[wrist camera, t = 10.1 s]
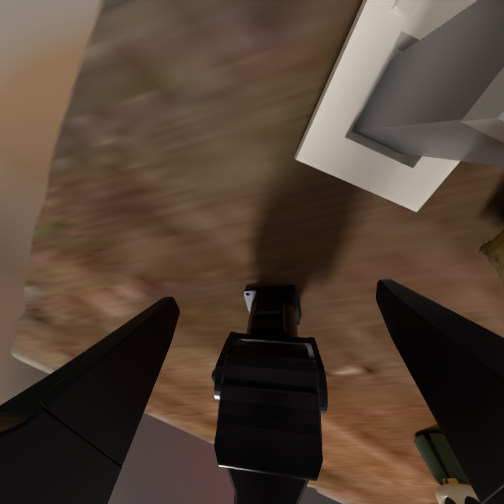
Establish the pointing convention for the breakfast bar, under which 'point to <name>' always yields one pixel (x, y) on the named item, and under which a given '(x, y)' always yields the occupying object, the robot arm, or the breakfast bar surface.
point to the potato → (495, 253)
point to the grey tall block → (445, 92)
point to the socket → (358, 94)
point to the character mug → (445, 471)
